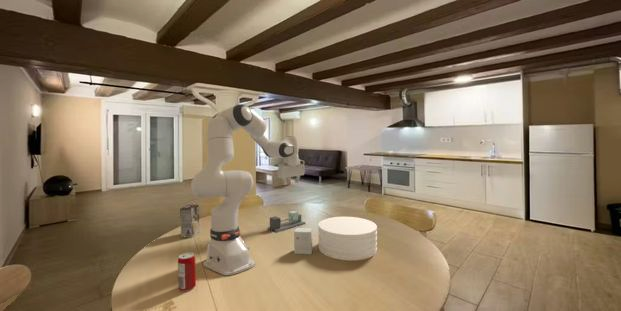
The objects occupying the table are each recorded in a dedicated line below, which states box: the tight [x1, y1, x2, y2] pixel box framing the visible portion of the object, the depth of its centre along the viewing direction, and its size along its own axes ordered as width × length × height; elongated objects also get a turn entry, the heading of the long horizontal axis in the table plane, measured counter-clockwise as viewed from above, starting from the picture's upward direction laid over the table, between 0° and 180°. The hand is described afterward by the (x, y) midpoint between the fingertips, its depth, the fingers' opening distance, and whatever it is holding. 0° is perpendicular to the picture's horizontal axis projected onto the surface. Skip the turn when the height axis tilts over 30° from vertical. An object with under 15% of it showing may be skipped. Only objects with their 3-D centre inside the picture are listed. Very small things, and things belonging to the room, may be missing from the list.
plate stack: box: [318, 216, 378, 261], centre depth 128 cm, size 28×28×12 cm
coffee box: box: [179, 204, 201, 238], centre depth 146 cm, size 9×6×16 cm
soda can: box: [177, 252, 197, 292], centre depth 93 cm, size 6×6×12 cm
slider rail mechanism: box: [267, 213, 306, 233], centre depth 160 cm, size 9×22×7 cm, turn 134°
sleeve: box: [288, 210, 299, 222], centre depth 164 cm, size 4×4×6 cm
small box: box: [293, 227, 313, 255], centre depth 123 cm, size 8×6×10 cm
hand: (291, 183), depth 166 cm, fingers open, 8 cm apart
